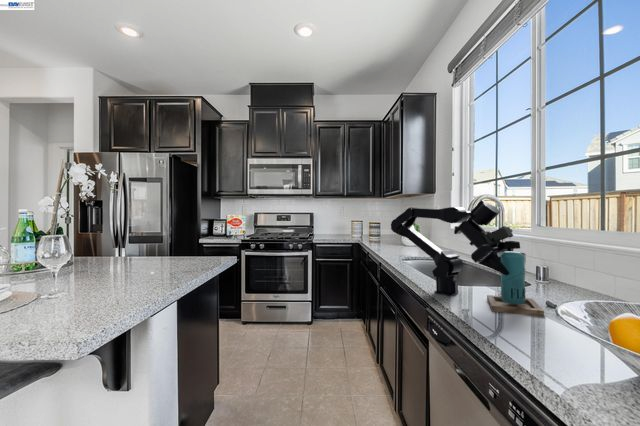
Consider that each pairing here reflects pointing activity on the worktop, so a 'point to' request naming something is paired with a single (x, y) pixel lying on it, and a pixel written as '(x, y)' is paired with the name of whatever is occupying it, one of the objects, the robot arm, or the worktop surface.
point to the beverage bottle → (513, 275)
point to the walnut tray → (515, 306)
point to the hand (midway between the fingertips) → (514, 272)
